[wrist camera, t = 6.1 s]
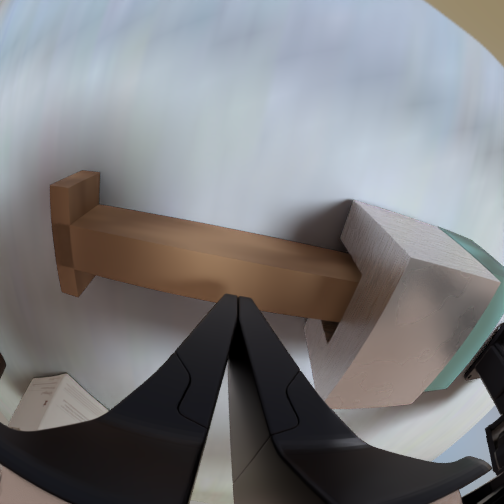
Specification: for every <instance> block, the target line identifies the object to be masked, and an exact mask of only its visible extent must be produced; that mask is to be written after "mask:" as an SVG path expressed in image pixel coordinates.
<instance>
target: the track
mask: <svg viewBox="0 0 504 504" xmlns="http://www.w3.org/2000/svg"><path fill="white" fill-rule="evenodd" d="M99 183H100V172H93V171H84V170H82V171H80V172H77V173H75V174H73V175H71V176H68V177H66V178H64V179H62V180H60V181H58V182H55V183H53V184H51V185H50V206H51V221H52V232H53V241H54V249H55V257H56V263H57V270H58V275H59V281H60V286H61V291H62V292H63V293H66V294H69V295H72V296H76V297H79V296H80V295H81V294H82V292H83V291H84V290H85V288H86V287H87V286H88V285H89V283H90V282H91V281H92V280H93V278H94V277H95V276H96V275H97V276H101V277H105V278H108V279H112V280H116V281H120V282H124V283H128V284H132V285H137V286H141V287H145V288H149V289H154V290H158V291H163V292H167V293H172V294H176V295H181V296H186V297H190V298H195V299H200V300H205V301H210V302H215V303H217V302H218V301H219V300H220V298H221V297H222V296H223V295H224V294H226V293H227V294H233V295H237V296H238V297H239V296H244V297H250V298H252V300H253V301H254V303H255V304H256V306H257V307H258V309H259V310H260V311H266V312H272V313H278V314H285V315H291V316H298V317H305V318H312V319H319V320H327V321H334V322H340V321H341V319H342V317H343V315H344V313H345V311H346V309H347V307H348V305H349V303H350V301H351V299H352V296H353V294H354V292H355V290H356V288H357V286H358V284H359V282H360V279H361V277H362V273H361V272H360V270H359V268H358V267H357V265H356V263H355V262H354V260H353V258H352V257H351V255H350V254H348V253H344V252H339V251H335V250H330V249H326V248H321V247H316V246H312V245H307V244H302V243H298V242H293V241H288V240H283V239H279V238H274V237H269V236H264V235H259V234H254V233H249V232H244V231H239V230H234V229H229V228H224V227H219V226H214V225H209V224H204V223H199V222H194V221H188V220H183V219H178V218H173V217H167V216H162V215H156V214H151V213H146V212H140V211H135V210H129V209H123V208H118V207H112V206H106V205H101V204H99ZM438 228H439V229H441V230H442V231H443V232H444V233H446V234H447V235H448V236H449V237H451V238H452V239H453V240H454V241H455V242H457V243H458V244H459V245H460V246H461V247H463V248H464V249H465V250H466V251H467V252H468V253H470V254H471V255H472V256H473V257H474V258H475V259H476V260H478V261H479V262H480V263H481V264H482V265H483V266H484V267H485V268H486V269H487V270H488V271H490V272H491V273H492V274H493V275H494V276H495V277H496V278H497V279H498V280H499V281H500V282H501V283H500V285H499V287H498V289H497V291H496V293H495V294H494V296H493V298H492V300H491V301H490V303H489V305H488V306H487V308H486V310H485V311H484V313H483V314H482V316H481V318H480V319H479V321H478V322H477V324H476V325H475V327H474V328H473V330H472V331H471V333H470V334H469V336H468V337H467V338H466V340H465V341H464V343H463V344H462V345H461V347H460V348H459V349H458V351H457V352H456V353H455V355H454V356H453V357H452V359H451V360H450V361H449V362H448V364H447V365H446V366H445V367H444V369H443V370H442V371H441V372H440V373H439V374H438V376H437V377H436V378H435V379H434V380H433V381H432V383H431V384H430V385H429V386H428V387H427V388H426V389H425V390H424V391H433V390H440V389H447V388H448V386H449V385H450V384H451V383H452V382H453V381H454V380H455V379H456V377H457V376H458V375H459V374H460V373H461V372H462V370H463V369H464V368H465V367H466V366H467V364H468V363H469V362H470V361H471V359H472V358H473V357H474V356H475V354H476V353H477V352H478V350H479V349H480V348H481V346H482V345H483V344H484V342H485V341H486V339H487V338H488V337H489V335H490V334H491V332H492V331H493V329H494V328H495V326H496V325H497V323H498V322H499V320H500V319H501V317H502V315H503V314H504V267H503V266H502V265H501V264H500V263H499V262H498V261H497V260H495V259H494V258H493V257H492V256H491V255H490V254H488V253H487V252H486V251H485V250H484V249H482V248H481V247H480V246H479V245H477V244H476V243H475V242H474V241H472V240H471V239H468V238H466V237H463V236H461V235H458V234H456V233H453V232H451V231H448V230H445V229H443V228H440V227H438ZM424 391H423V392H424Z"/></svg>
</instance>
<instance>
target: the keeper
mask: <svg viewBox="0 0 504 504" xmlns="http://www.w3.org/2000/svg"><path fill="white" fill-rule="evenodd" d="M340 239H341V241H342V242H343V244H344V245H345V247H346V249H347V250H348V252H349V254H350V255H351V257H352V258H353V260H354V262H355V263H356V265H357V267H358V268H359V270H360V272H361V273H362V277H361V279H360V282H359V284H358V286H357V288H356V290H355V292H354V294H353V296H352V299H351V301H350V303H349V305H348V307H347V309H346V311H345V313H344V315H343V317H342V319H341V321H340V322H334V321H327V320H319V319H312V318H308V319H307V321H306V323H305V326H304V332H305V337H306V342H307V347H308V353H309V358H310V363H311V369H312V374H313V380H314V385H315V391H316V392H317V393H318V394H319V395H320V397H321V398H322V399H323V400H324V401H325V402H326V404H327V405H328V406H329V407H330V408H331V409H354V408H374V407H388V406H399V405H408V404H412V403H413V402H414V401H415V400H416V399H417V398H418V397H419V396H420V395H421V394H422V393H423V391H424V390H425V389H426V388H427V387H428V386H429V385H430V384H431V383H432V381H433V380H434V379H435V378H436V377H437V376H438V374H439V373H440V372H441V371H442V370H443V369H444V367H445V366H446V365H447V364H448V362H449V361H450V360H451V359H452V357H453V356H454V355H455V353H456V352H457V351H458V349H459V348H460V347H461V345H462V344H463V343H464V341H465V340H466V338H467V337H468V336H469V334H470V333H471V331H472V330H473V328H474V327H475V325H476V324H477V322H478V321H479V319H480V318H481V316H482V314H483V313H484V311H485V310H486V308H487V306H488V305H489V303H490V301H491V300H492V298H493V296H494V294H495V293H496V291H497V289H498V287H499V285H500V283H501V282H500V281H499V280H498V279H497V278H496V277H495V276H494V275H493V274H492V273H491V272H490V271H488V270H487V269H486V268H485V267H484V266H483V265H482V264H481V263H480V262H479V261H478V260H476V259H475V258H474V257H473V256H472V255H471V254H470V253H468V252H467V251H466V250H465V249H464V248H463V247H461V246H460V245H459V244H458V243H457V242H455V241H454V240H453V239H452V238H451V237H449V236H448V235H447V234H446V233H444V232H443V231H442V230H441V229H439V228H438V227H435V226H433V225H430V224H427V223H424V222H421V221H419V220H416V219H413V218H410V217H407V216H404V215H401V214H398V213H395V212H392V211H389V210H386V209H383V208H379V207H376V206H373V205H370V204H367V203H363V202H360V201H356V200H353V202H352V205H351V208H350V211H349V214H348V217H347V220H346V223H345V225H344V228H343V231H342V234H341V237H340Z"/></svg>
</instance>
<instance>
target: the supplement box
mask: <svg viewBox="0 0 504 504" xmlns="http://www.w3.org/2000/svg"><path fill="white" fill-rule="evenodd" d="M108 411H109V410H108V409H106V408H105V407H104V406H103V405H102V404H100V403H99V402H98V401H97V400H96V399H95V398H93V397H92V396H91V395H90V394H89V393H88V392H87V391H86V390H84V389H83V388H82V387H81V386H80V385H79V384H78V383H77V382H76V381H75V380H74V379H73V378H72V377H70V376H69V375H68V374H67V373H66V374H61V375H57V376H52V377H43V378H33V380H32V381H31V383H30V385H29V387H28V388H27V390H26V392H25V393H24V395H23V397H22V399H21V401H20V403H19V405H18V406H17V408H16V410H15V412H14V414H13V416H12V418H11V420H10V422H9V424H8V426H7V427H9V428H12V429H16V430H21V431H36V430H43V429H49V428H54V427H60V426H65V425H70V424H75V423H79V422H84V421H88V420H92V419H95V418H97V417H100V416H102V415H103V414H105V413H107V412H108ZM2 469H3V466H2V465H1V464H0V475H1V472H2Z"/></svg>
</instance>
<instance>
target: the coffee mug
mask: <svg viewBox="0 0 504 504" xmlns="http://www.w3.org/2000/svg"><path fill="white" fill-rule="evenodd" d="M5 367H6V363H5V360H4V358H3V357H2V355H1V353H0V378H1V376H2V374H3V372H4V369H5Z"/></svg>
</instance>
